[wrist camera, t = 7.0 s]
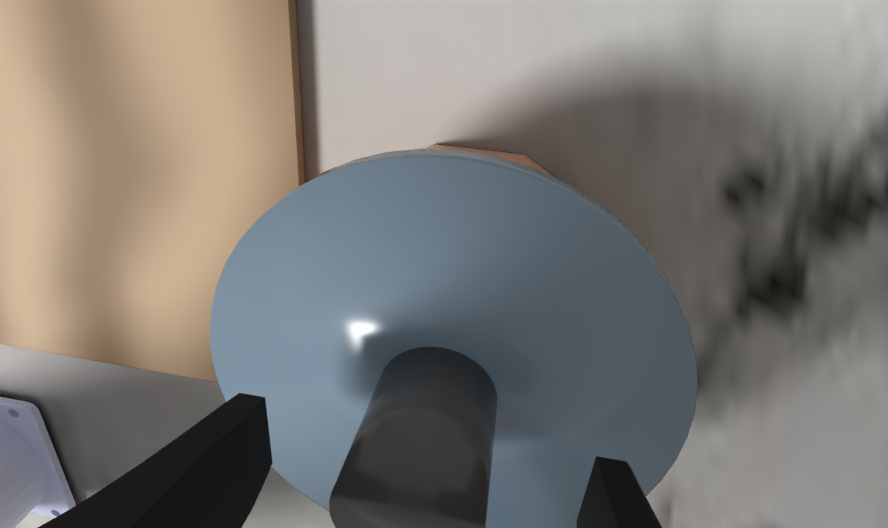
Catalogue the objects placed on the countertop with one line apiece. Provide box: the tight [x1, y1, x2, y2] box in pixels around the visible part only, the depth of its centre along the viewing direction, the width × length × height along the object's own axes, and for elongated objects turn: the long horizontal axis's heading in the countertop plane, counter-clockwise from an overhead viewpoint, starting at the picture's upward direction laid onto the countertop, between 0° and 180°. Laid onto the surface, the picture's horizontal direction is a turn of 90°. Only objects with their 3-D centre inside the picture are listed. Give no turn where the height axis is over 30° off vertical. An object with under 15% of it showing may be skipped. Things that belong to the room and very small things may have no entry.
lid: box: [210, 149, 698, 528], centre depth 11 cm, size 12×12×4 cm
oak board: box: [0, 0, 305, 382], centre depth 18 cm, size 15×15×1 cm
